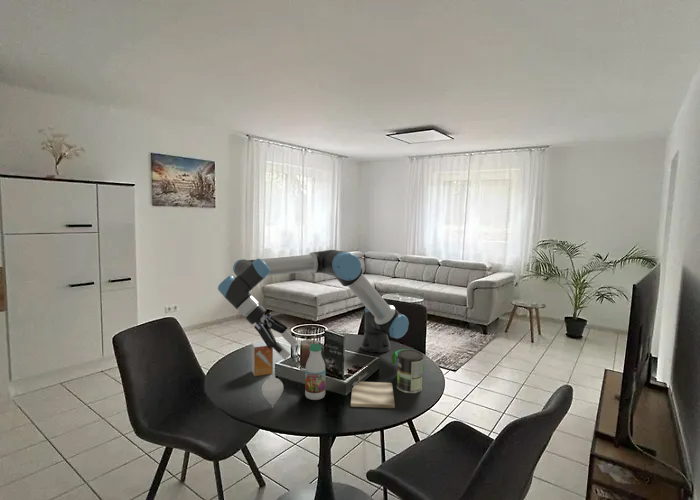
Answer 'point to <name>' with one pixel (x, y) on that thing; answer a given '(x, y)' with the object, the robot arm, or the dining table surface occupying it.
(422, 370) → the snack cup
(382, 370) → the dining table surface
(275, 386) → the spinning top
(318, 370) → the milk bottle
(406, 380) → the coffee can
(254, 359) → the small box
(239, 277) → the robot arm
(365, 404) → the ash board
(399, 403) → the dining table surface
